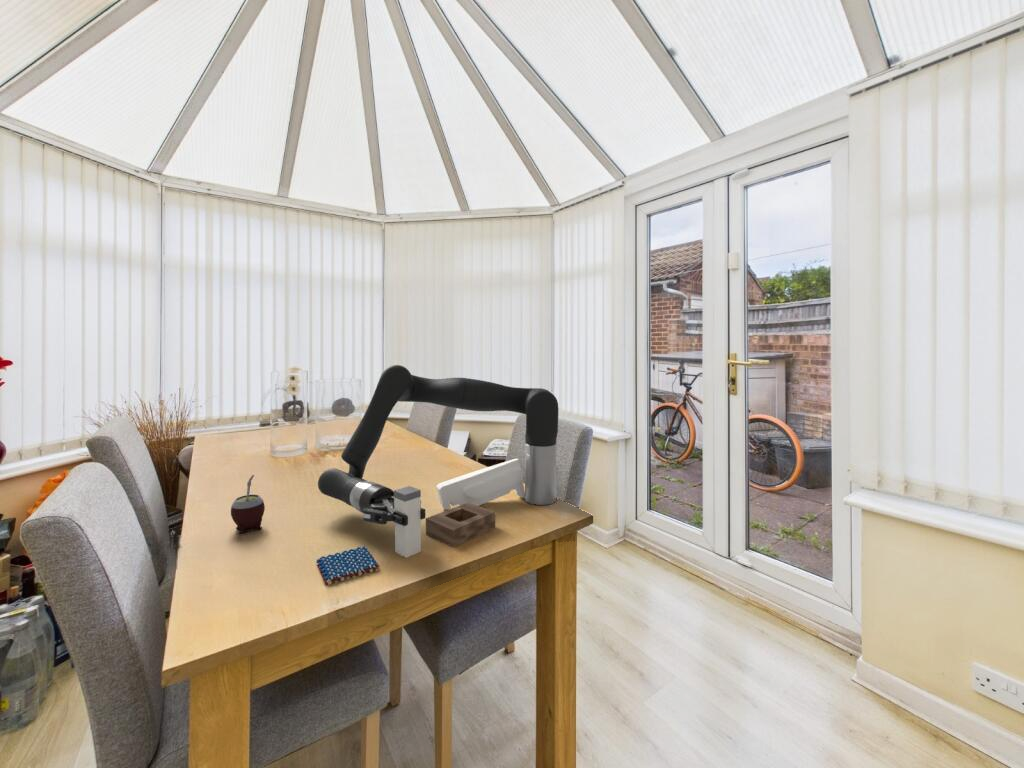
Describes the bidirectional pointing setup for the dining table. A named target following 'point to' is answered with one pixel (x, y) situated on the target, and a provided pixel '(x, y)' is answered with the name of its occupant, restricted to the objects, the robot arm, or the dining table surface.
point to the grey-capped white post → (411, 533)
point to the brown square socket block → (460, 524)
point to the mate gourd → (248, 511)
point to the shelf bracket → (482, 485)
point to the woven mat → (346, 564)
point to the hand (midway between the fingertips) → (415, 517)
